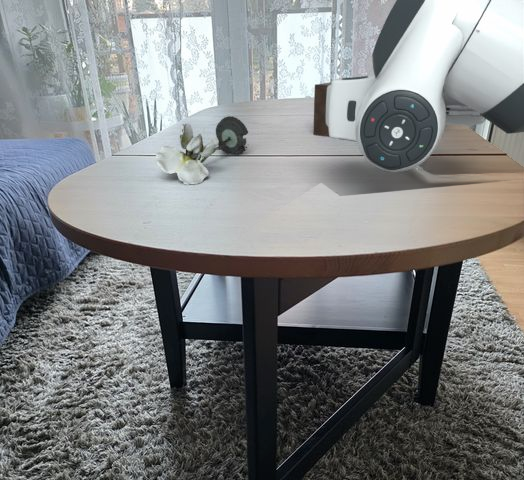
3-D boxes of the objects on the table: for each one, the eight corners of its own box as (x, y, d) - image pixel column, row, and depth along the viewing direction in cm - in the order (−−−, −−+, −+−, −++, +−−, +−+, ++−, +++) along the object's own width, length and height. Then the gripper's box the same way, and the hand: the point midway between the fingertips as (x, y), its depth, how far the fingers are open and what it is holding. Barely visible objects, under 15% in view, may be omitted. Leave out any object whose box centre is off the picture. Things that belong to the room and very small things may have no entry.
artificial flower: (258, 163, 92) (268, 106, 85) (191, 211, 77) (196, 147, 70) (216, 146, 94) (222, 89, 87) (142, 190, 78) (142, 125, 71)
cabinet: (403, 132, 108) (409, 82, 103) (372, 141, 100) (377, 87, 95) (345, 127, 117) (348, 79, 112) (313, 134, 109) (314, 84, 104)
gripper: (505, 79, 55) (491, 71, 66) (318, 79, 59) (335, 72, 71) (492, 142, 58) (481, 124, 69) (316, 137, 63) (332, 121, 74)
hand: (406, 97), depth 70 cm, fingers open, 8 cm apart
